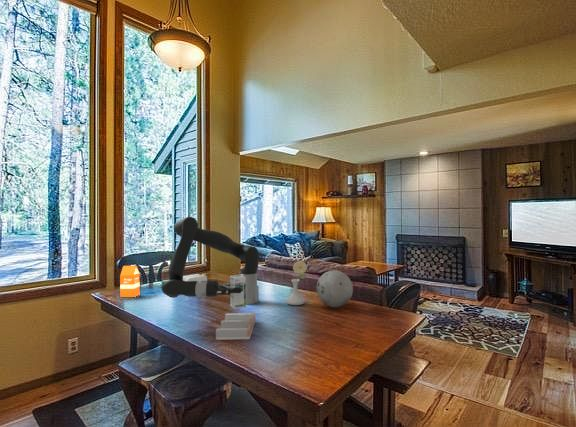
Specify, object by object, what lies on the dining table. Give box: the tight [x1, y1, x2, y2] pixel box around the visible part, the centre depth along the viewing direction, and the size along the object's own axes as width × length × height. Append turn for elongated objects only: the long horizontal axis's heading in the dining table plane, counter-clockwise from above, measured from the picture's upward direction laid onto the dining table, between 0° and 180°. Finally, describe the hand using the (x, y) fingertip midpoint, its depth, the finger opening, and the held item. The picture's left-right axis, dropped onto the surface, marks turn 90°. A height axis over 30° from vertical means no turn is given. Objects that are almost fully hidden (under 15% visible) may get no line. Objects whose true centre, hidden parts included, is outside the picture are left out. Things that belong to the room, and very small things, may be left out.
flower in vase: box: [285, 260, 308, 306], centre depth 182 cm, size 13×11×25 cm
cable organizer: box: [183, 273, 208, 281], centre depth 212 cm, size 15×11×12 cm
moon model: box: [316, 269, 354, 308], centre depth 176 cm, size 20×20×20 cm
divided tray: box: [215, 312, 256, 341], centre depth 143 cm, size 14×22×4 cm, turn 0°
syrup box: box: [229, 274, 247, 310], centre depth 148 cm, size 6×6×14 cm
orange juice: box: [119, 265, 141, 298], centre depth 205 cm, size 8×9×20 cm
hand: (242, 288), depth 148 cm, fingers closed on syrup box, 7 cm apart
